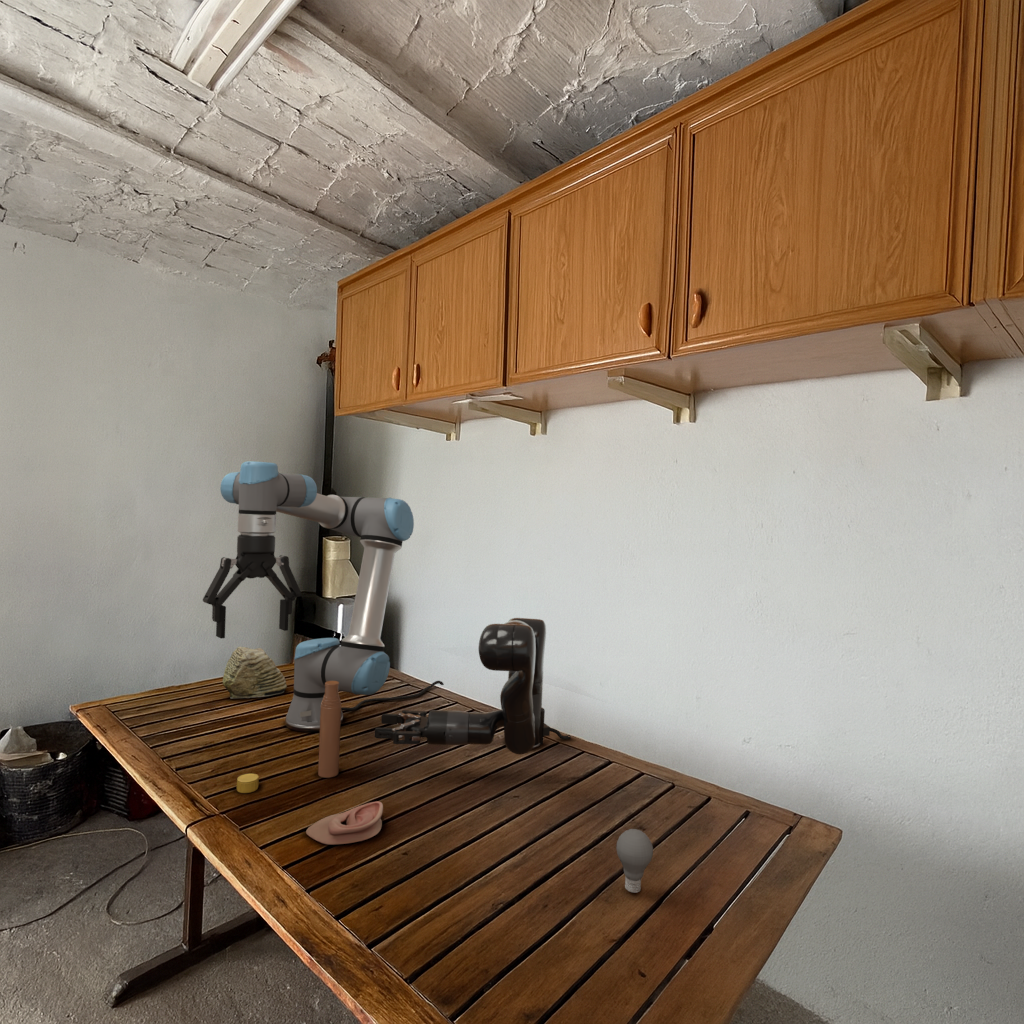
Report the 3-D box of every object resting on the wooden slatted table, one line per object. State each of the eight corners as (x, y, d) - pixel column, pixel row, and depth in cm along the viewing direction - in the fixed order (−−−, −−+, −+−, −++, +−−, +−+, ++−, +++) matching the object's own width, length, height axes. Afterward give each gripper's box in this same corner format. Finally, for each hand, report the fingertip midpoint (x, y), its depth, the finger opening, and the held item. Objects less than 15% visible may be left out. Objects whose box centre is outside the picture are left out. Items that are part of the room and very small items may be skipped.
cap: (259, 783, 139) (260, 772, 138) (256, 792, 134) (256, 781, 134) (238, 784, 138) (239, 773, 138) (234, 793, 133) (235, 782, 133)
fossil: (218, 695, 195) (220, 647, 195) (278, 685, 208) (279, 640, 207) (228, 703, 189) (230, 653, 188) (289, 692, 201) (290, 645, 201)
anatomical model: (298, 818, 116) (328, 791, 128) (297, 839, 116) (327, 810, 128) (365, 829, 114) (390, 800, 125) (364, 851, 114) (389, 820, 125)
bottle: (343, 772, 146) (346, 682, 145) (327, 779, 142) (330, 686, 142) (329, 767, 148) (333, 678, 148) (313, 774, 144) (317, 682, 144)
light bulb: (610, 879, 108) (613, 822, 108) (644, 879, 109) (647, 822, 109) (619, 902, 102) (622, 840, 102) (655, 901, 103) (658, 840, 103)
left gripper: (201, 536, 123) (198, 644, 124) (319, 534, 141) (315, 629, 142) (188, 533, 129) (184, 637, 129) (302, 532, 147) (299, 623, 147)
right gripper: (451, 701, 153) (383, 699, 153) (447, 723, 139) (372, 721, 138) (450, 731, 153) (382, 729, 153) (446, 756, 139) (371, 754, 139)
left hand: (253, 633), depth 135 cm, fingers open, 13 cm apart
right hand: (378, 725), depth 146 cm, fingers open, 8 cm apart
